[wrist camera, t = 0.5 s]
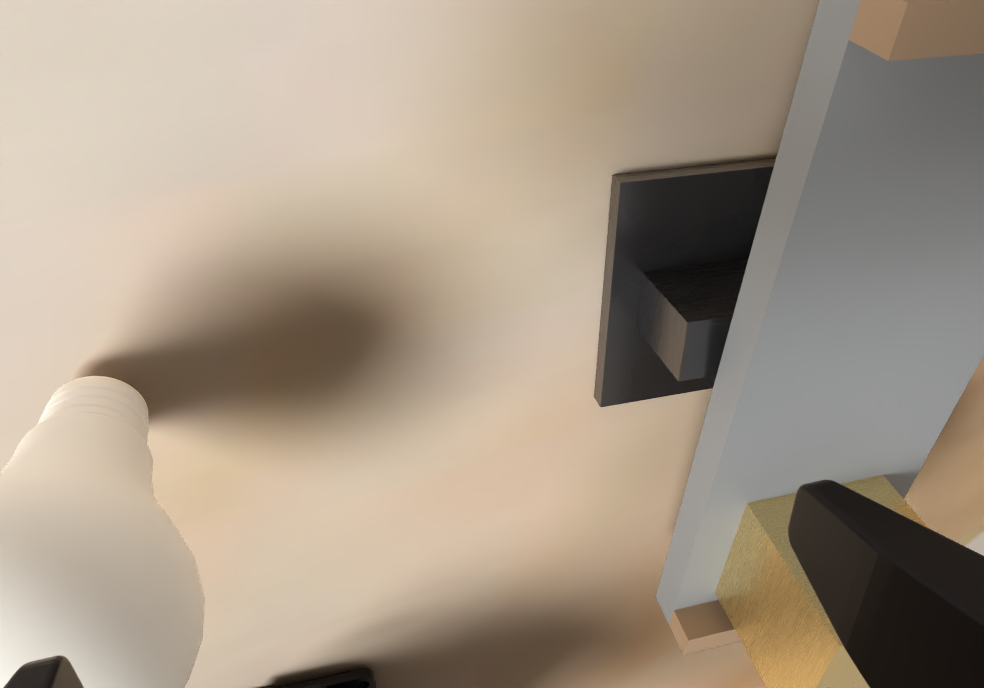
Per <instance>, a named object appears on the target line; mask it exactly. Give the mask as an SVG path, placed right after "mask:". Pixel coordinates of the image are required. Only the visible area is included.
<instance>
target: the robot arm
mask: <svg viewBox="0 0 984 688" xmlns="http://www.w3.org/2000/svg"><path fill="white" fill-rule="evenodd" d="M788 538H789V542H790V545H791V547H792V549H793V551H794V553H795V555H796V557H797V559H798V561H799V563H800V564H801V566H802V568H803V570H804V572H805V574H806V576H807V578H808V580H809V582H810V584H811V586H812V588H813V589H814V591H815V593H816V595H817V597H818V599H819V601H820V603H821V605H822V607H823V609H824V611H825V613H826V614H827V616H828V618H829V620H830V622H831V624H832V626H833V628H834V630H835V632H836V634H837V635H838V637H839V639H840V641H841V643H842V644H843V646H844V648H845V650H846V651H847V653H848V655H849V656H850V658H851V659H852V661H853V663H854V664H855V666H856V667H857V669H858V670H859V672H860V673H861V675H862V677H863V678H864V680H865V681H866V683H867V684H868V686H869V687H870V688H984V556H983V555H981V554H979V553H977V552H975V551H973V550H970V549H969V548H967V547H965V546H963V545H961V544H959V543H957V542H955V541H953V540H951V539H949V538H947V537H945V536H943V535H941V534H939V533H937V532H935V531H933V530H931V529H929V528H927V527H925V526H923V525H921V524H919V523H917V522H915V521H913V520H911V519H909V518H907V517H905V516H903V515H901V514H899V513H897V512H895V511H893V510H891V509H889V508H887V507H885V506H883V505H881V504H879V503H877V502H875V501H873V500H871V499H869V498H867V497H865V496H863V495H861V494H859V493H857V492H855V491H853V490H851V489H849V488H847V487H845V486H843V485H841V484H840V483H838V482H835V481H833V480H820V481H815V482H811V483H807V484H803V485H801V486H800V487H799V488H798V490H797V492H796V495H795V500H794V504H793V508H792V512H791V516H790V520H789V524H788ZM3 688H84V687H83V685H82V683H81V681H80V679H79V677H78V675H77V674H76V672H75V670H74V668H73V666H72V664H71V662H70V661H69V660H68V658H66V657H65V656H62V655H57V656H53V657H48V658H44V659H40V660H35V661H31V662H28V663H26V664H24V665H22V666H21V667H20V668H19V669H18V670H17V671H16V672H15V673H14V674H13V676H12V677H11V678H10V680H9V681H8V682H7V683H6V685H5V686H4V687H3ZM281 688H376V682H375V675H374V672H373V671H372V670H370V669H359V670H355V671H351V672H346V673H342V674H338V675H333V676H329V677H325V678H320V679H316V680H312V681H307V682H303V683H299V684H294V685H290V686H286V687H281Z"/></svg>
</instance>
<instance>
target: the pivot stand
mask: <svg viewBox="0 0 984 688" xmlns="http://www.w3.org/2000/svg"><path fill="white" fill-rule="evenodd" d="M775 161H776V158H772V159H763V160H753V161H744V162H734V163H725V164H715V165H706V166H696V167H687V168H678V169H668V170H659V171H649V172H640V173H630V174H621V175H612V186H611V198H610V211H609V223H608V235H607V247H606V259H605V271H604V284H603V296H602V308H601V320H600V332H599V344H598V357H597V369H596V381H595V393H594V397H595V399H596V401H597V402H598V404H599V406H600V407H605V406H611V405H617V404H623V403H628V402H634V401H640V400H646V399H652V398H657V397H663V396H669V395H675V394H681V393H687V392H692V391H698V390H704V389H710V388H713V387H714V383H715V379H716V376H717V372H718V368H719V365H720V361H721V357H722V354H723V350H724V347H725V343H726V339H727V336H728V332H729V328H730V325H731V321H732V317H733V314H734V310H735V306H736V303H737V299H738V296H739V292H740V288H741V285H742V281H743V277H744V274H745V270H746V266H747V263H748V259H749V256H750V252H751V248H752V245H753V241H754V237H755V234H756V230H757V226H758V223H759V219H760V215H761V212H762V208H763V205H764V201H765V197H766V194H767V190H768V186H769V183H770V179H771V175H772V172H773V168H774V165H775Z"/></svg>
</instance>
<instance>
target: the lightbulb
mask: <svg viewBox="0 0 984 688" xmlns="http://www.w3.org/2000/svg"><path fill="white" fill-rule="evenodd" d="M147 436H148V408H147V404H146V402H145V400H144V398H143V397H142V396H141V395H140V393H139V392H138V391H137V390H136V389H134V388H133V387H132V386H130V385H128V384H127V383H125V382H123V381H120V380H117V379H114V378H110V377H105V376H86V377H81V378H77V379H73V380H71V381H69V382H67V383H65V384H64V385H62V386H61V387H60V388H58V389H57V390H56V392H55V393H54V394H53V395H52V397H51V399H50V401H49V402H48V404H47V406H46V408H45V410H44V412H43V414H42V416H41V418H40V420H39V423H38V424H37V425H36V426H35V427H34V428H32V429H31V430H30V431H29V432H28V433H27V434H26V435H25V436H24V437H23V438H22V440H21V441H20V443H19V445H18V447H17V449H16V451H15V453H14V455H13V457H12V459H11V460H10V461H9V463H8V464H7V465H6V466H5V468H4V469H3V470H2V472H1V473H0V688H3V687H4V686H5V685H6V683H7V682H8V681H9V680H10V678H11V677H12V676H13V674H14V673H15V672H16V671H17V670H18V669H19V668H20V667H21V666H22V665H24V664H26V663H28V662H31V661H35V660H40V659H44V658H48V657H53V656H57V655H62V656H65V657H66V658H68V660H69V661H70V662H71V664H72V666H73V668H74V670H75V672H76V674H77V675H78V677H79V679H80V681H81V683H82V685H83V687H84V688H184V687H185V685H186V683H187V681H188V679H189V677H190V674H191V672H192V669H193V666H194V663H195V661H196V657H197V654H198V651H199V648H200V644H201V641H202V636H203V620H204V601H205V598H204V594H203V590H202V585H201V581H200V577H199V573H198V569H197V565H196V561H195V558H194V556H193V554H192V552H191V551H190V549H189V547H188V546H187V544H186V542H185V541H184V539H183V537H182V536H181V534H180V533H179V531H178V530H177V528H176V526H175V525H174V523H173V522H172V520H171V519H170V517H169V516H168V515H167V514H166V512H165V511H164V510H163V509H162V508H161V507H160V505H159V504H158V503H157V500H156V498H155V496H154V491H153V485H152V471H153V459H152V456H151V452H150V449H149V446H148V445H147Z"/></svg>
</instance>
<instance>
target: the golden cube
mask: <svg viewBox="0 0 984 688" xmlns="http://www.w3.org/2000/svg"><path fill="white" fill-rule="evenodd" d="M841 485H843V486H845V487H847V488H849V489H851V490H853V491H855V492H857V493H859V494H861V495H863V496H865V497H867V498H869V499H871V500H873V501H875V502H877V503H879V504H881V505H883V506H885V507H887V508H889V509H891V510H893V511H895V512H897V513H899V514H901V515H903V516H905V517H907V518H909V519H911V520H913V521H915V522H917V523H919V524H921V525H923V526H925V527H927V526H926V525H925V524H924V523H923V522H922V520H921V519H920V518H919V517H918V516H917V514H916V513H915V512H914V511H913V510H912V509H911V507H910V506H909V505H908V504H907V503H906V502H905V500H904V499H903V498H902V497H901V496H900V494H899V493H898V492H897V491H896V490H895V489H894V487H893V486H892V485H891V484H890V483H889V481H888V480H887V479H886V478H885V477H884V476H883V475H880V476H875V477H870V478H865V479H860V480H856V481H851V482H846V483H841ZM795 495H796V493H793V494H788V495H783V496H779V497H774V498H769V499H764V500H759V501H755V502H750V503H747V504H746V507H745V510H744V513H743V515H742V518H741V521H740V524H739V527H738V529H737V532H736V535H735V538H734V540H733V543H732V546H731V549H730V552H729V554H728V557H727V560H726V563H725V566H724V568H723V571H722V574H721V577H720V579H719V582H718V585H717V588H716V591H715V594H716V596H717V598H718V599H719V601H720V603H721V605H722V607H723V609H724V610H725V612H726V614H727V616H728V618H729V620H730V621H731V623H732V625H733V627H734V629H735V631H736V633H737V634H738V636H739V638H740V640H741V642H742V644H743V645H744V647H745V649H746V651H747V653H748V655H749V656H750V658H751V660H752V662H753V664H754V666H755V667H756V669H757V671H758V673H759V675H760V677H761V678H762V680H763V682H764V684H765V686H766V688H870V687H869V686H868V684H867V683H866V681H865V680H864V678H863V677H862V675H861V673H860V672H859V670H858V669H857V667H856V666H855V664H854V663H853V661H852V659H851V658H850V656H849V655H848V653H847V651H846V650H845V648H844V646H843V644H842V643H841V641H840V639H839V637H838V635H837V634H836V632H835V630H834V628H833V626H832V624H831V622H830V620H829V618H828V616H827V614H826V613H825V611H824V609H823V607H822V605H821V603H820V601H819V599H818V597H817V595H816V593H815V591H814V589H813V588H812V586H811V584H810V582H809V580H808V578H807V576H806V574H805V572H804V570H803V568H802V566H801V564H800V563H799V561H798V559H797V557H796V555H795V553H794V551H793V549H792V547H791V545H790V542H789V538H788V524H789V520H790V516H791V512H792V508H793V504H794V500H795ZM927 528H928V527H927Z"/></svg>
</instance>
